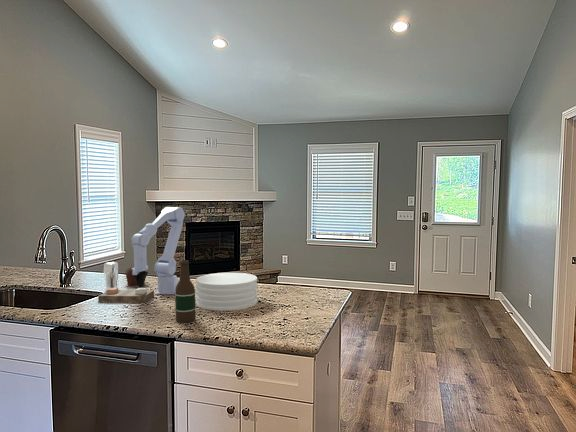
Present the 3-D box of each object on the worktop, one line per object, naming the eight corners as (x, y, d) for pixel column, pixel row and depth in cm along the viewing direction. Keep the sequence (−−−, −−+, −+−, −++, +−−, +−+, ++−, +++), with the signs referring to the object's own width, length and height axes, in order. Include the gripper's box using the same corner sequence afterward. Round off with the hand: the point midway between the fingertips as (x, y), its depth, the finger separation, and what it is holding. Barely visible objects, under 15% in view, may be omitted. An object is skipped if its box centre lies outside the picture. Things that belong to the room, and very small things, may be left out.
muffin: (121, 284, 243) (121, 266, 243) (141, 281, 251) (140, 264, 250) (130, 287, 234) (130, 269, 234) (150, 284, 242) (149, 266, 241)
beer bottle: (177, 317, 178) (176, 259, 176) (196, 317, 178) (195, 258, 177) (173, 323, 170) (172, 262, 169) (194, 323, 171) (193, 262, 169)
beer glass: (113, 294, 220) (112, 264, 219) (101, 293, 221) (100, 264, 220) (121, 291, 226) (120, 262, 226) (109, 290, 228) (108, 261, 227)
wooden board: (154, 296, 214) (153, 290, 214) (144, 302, 203) (144, 296, 202) (110, 296, 216) (110, 290, 215) (98, 302, 204) (98, 295, 204)
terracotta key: (118, 293, 211) (118, 287, 211) (114, 295, 207) (114, 289, 207) (110, 293, 211) (110, 287, 211) (106, 295, 207) (106, 289, 207)
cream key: (146, 294, 210) (146, 288, 210) (143, 296, 206) (143, 289, 206) (138, 294, 211) (138, 288, 211) (135, 296, 207) (135, 289, 207)
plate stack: (219, 293, 221) (219, 270, 221) (268, 299, 209) (268, 275, 208) (183, 306, 196) (182, 281, 195) (236, 313, 184) (235, 286, 183)
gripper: (138, 256, 215) (138, 284, 216) (125, 261, 201) (126, 290, 201) (152, 256, 215) (152, 284, 215) (140, 261, 200) (141, 290, 201)
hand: (141, 287), depth 208 cm, fingers closed
